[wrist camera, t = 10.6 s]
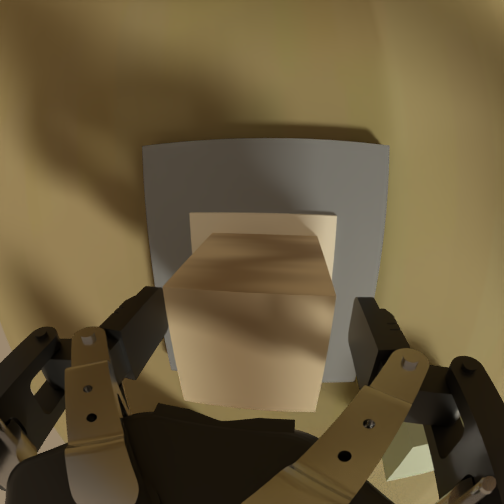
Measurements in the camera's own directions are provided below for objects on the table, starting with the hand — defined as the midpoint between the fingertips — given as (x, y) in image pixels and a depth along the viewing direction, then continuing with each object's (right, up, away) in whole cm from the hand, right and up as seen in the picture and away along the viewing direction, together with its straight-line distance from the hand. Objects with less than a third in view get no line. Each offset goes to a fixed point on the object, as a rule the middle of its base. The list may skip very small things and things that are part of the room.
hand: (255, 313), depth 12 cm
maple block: (0, +1, +3) cm, 3 cm away
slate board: (0, +1, +4) cm, 4 cm away
